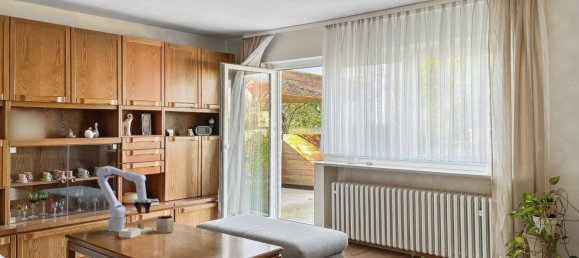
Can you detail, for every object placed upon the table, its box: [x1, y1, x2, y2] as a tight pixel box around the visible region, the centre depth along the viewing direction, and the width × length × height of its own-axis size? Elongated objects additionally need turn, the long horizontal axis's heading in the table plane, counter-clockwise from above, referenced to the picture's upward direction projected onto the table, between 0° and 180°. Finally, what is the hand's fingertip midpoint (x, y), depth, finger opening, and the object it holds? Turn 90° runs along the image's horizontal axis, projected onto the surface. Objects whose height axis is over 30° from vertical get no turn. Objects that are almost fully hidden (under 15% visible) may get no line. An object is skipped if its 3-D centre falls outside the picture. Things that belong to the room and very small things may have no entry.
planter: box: [155, 215, 175, 235], centre depth 292 cm, size 11×11×10 cm
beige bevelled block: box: [118, 227, 142, 239], centre depth 280 cm, size 9×9×4 cm
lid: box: [136, 222, 154, 234], centre depth 296 cm, size 11×11×5 cm
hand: (143, 213), depth 295 cm, fingers open, 7 cm apart
